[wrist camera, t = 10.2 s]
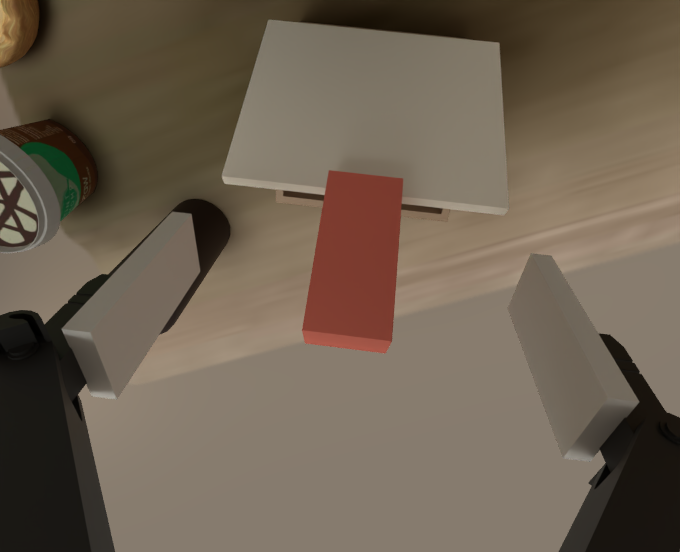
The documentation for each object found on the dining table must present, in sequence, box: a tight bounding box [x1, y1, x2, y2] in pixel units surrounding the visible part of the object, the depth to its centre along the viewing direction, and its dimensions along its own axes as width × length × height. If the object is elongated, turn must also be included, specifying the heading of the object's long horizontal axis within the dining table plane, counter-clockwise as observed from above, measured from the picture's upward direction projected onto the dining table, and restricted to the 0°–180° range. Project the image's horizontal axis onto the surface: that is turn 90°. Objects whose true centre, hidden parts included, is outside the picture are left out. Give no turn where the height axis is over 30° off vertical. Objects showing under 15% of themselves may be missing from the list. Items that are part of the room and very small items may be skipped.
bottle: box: [108, 199, 230, 335], centre depth 39 cm, size 7×7×20 cm
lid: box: [222, 20, 509, 353], centre depth 21 cm, size 20×14×2 cm
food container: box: [0, 119, 98, 253], centre depth 40 cm, size 12×6×10 cm, turn 160°
